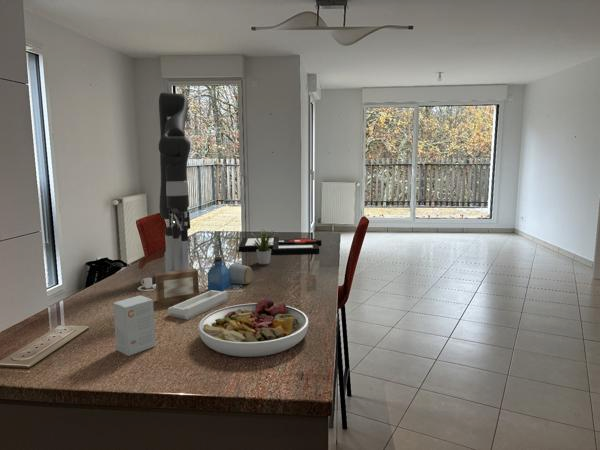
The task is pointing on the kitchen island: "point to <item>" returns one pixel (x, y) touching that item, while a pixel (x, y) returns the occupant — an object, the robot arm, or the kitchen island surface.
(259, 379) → the kitchen island surface
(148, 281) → the teacup and saucer
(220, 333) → the bowl
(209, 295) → the frame
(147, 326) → the small box
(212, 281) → the perfume bottle
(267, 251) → the house plant
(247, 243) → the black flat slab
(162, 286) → the oak frame
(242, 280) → the ceramic mug
